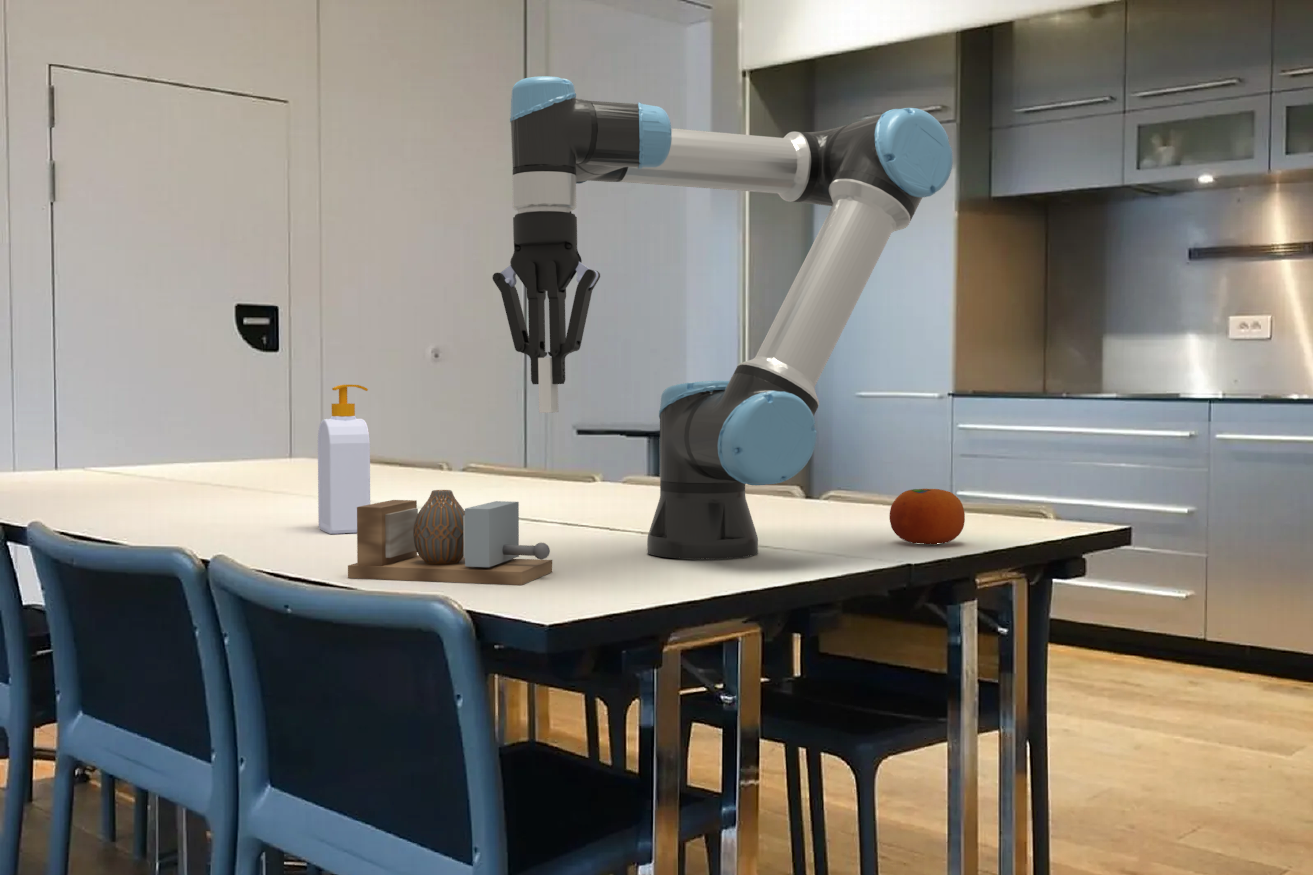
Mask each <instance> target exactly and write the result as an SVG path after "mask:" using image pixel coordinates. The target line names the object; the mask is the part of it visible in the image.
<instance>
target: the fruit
mask: <svg viewBox="0 0 1313 875" xmlns="http://www.w3.org/2000/svg"><path fill="white" fill-rule="evenodd" d="M965 514H966V513H965V509H964V505H963V503H962V501H961V500H960V499H959V497H957V496H956V495H955V493H953V492H951V491H949V490H948V491H947V490H944V489H938V488H913V489H908V490H905V491H904V492H902V493H900V494H899V495H898V496H897V497H896V498H895V499H894V501H893V502H892V504H891V506H890V509H889V523H890V526H891V529H892V531H893V532H894V534H895V535H896V536H897V537H898V538H900V539H902V540H904V541H905V542H908V543H911V542H912V543H911V544H914V543H924V544H923V545H934V544H937V543H943V544H946V543H945V542H947V543H950V542H952V541H954V540H955V539H956V538H957V537H959V536H960V534H961V532H962V531H963V530H964V527H965V521H966V519H965V518H966V517H965ZM937 545H938V544H937Z"/></svg>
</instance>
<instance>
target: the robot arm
mask: <svg viewBox="0 0 1313 875" xmlns="http://www.w3.org/2000/svg"><path fill="white" fill-rule="evenodd" d="M575 89H576V88H575V84H573V82H572V81H571V80H570V79H567V78H561V77H559V76H542V75H541V76H532V77H530V76H529V77H526V78H525V77H524V78H522V79H520V80H518V81H517V82H515V84H514V85H513V86H512V88H511V98H510V118H509V123H510V135H511V136H510V137H511V160H512V162H511V163H512V179H511V180H512V209H513V210H514V211H516V212H517V213H516V214H514V217H512V226H513V227H512V229H513V230H512V232H513V254H512V256H511V259H510V263H509V264H510V265H508V266H507V267H506V268H505V269H503V270H502V271H501V272H495V273H494V274H493V275H492V281H493V282H494V284H495V286H496V287H497V288H498V290H499V292H500V294H501V297H502V302H503V308H504V310H505V315H506V319H507V322H508V326H509V329H510V335H511V338H512V342H513V346H514V350H515V351H516V352H518V353H521V354H524V355H527V357H528V358H530V359H529V360H530V381H531V383H532V385H538V404H539V405H538V408H539V409H538V410H539V411H538V412H539V414H553V413H559V385H564V384H565V382H566V357H567V356H568V355H569V354H572V353H574V352H578V351H579V350H580V349H581V347H582V346H581V345H582V341H583V336H584V330H585V326H586V321H587V317H588V312H589V307H590V303H591V299H592V293H593V290H594V289H595V287H596V286H597V283H598V282H599V280H600V278H601V273H600V272H599V271H598V270H594V269H591V268H590V267H589V266H587V265H585V264H584V263H582V261H583V260H582V256H581V255H580V253H579V250H578V218H577V216H576V214H575V213H572V211H573V210H575V209H577V185H578V184H583V183H585V182H588V181H591V182H605V183H628V184H629V183H630V184H642V185H643V184H644V185H656V186H657V185H658V186H668V187H669V186H672V187H683V188H686V187H687V188H696V189H697V188H698V189H700V188H701V189H711V190H728V191H740V192H754V193H769V194H778V196H779V197H780V198H781V199H782V200H783V201H786V202H787V203H788V202H791V203H792V202H793V203H801V204H802V203H803V204H810V205H817V206H818V205H819V206H820V205H821V206H827V207H830V209H829V211H828V213H827V216H826V218H825V219H824V221H823V223H822V225H821V227H820V229H819V231H818V233H817V234H816V236H815V239H814V241H813V243H812V245H811V247H810V249H809V251H808V252H807V255H806V257H805V259H804V261H803V262H802V265H801V266H800V268H799V271H798V272H797V275H796V276H795V278H794V280H793V282H792V284H791V286H790V288H789V290H788V292H787V294H786V296H785V298H784V299H783V302H782V304H781V306H780V308H779V310H778V311H777V313H776V315H775V318H774V319H773V321H772V323H771V326H770V327H769V329H768V330H767V334H766V336H765V338H764V339H763V342H762V343H761V345H760V347H759V349H758V350H757V353H756V355H755V357H754V358H752V359H749V360H746V361H745V360H744V361H743V362H739V363H738V364H737V366H736V368H735V370H734V372H733V374H732V375H731V377H730V379H729V380H705V381H704V380H703V381H695V382H683V383H679V384H677V383H676V384H674V385H670V386H668V387H666V388H665V389H664V390H663V392H662V393H661V396H660V403H659V404H660V408H659V410H658V417H659V471H660V472H659V478H660V479H659V483H660V484H659V485H660V486H659V488H660V489H659V491H660V492H659V500H658V503H657V506H656V509H655V511H654V515H653V519H652V522H651V525H650V527H649V532H648V535H647V542H646V544H647V545H646V546H647V550H646V552H647V554H649V555H652V556H655V557H662V558H669V559H683V560H684V559H685V560H726V559H727V560H728V559H737V558H740V559H741V558H747V557H751V556H752V557H753V556H755V555H757V554H758V553H759V538H758V537H759V536H758V533H757V531H756V527H755V524H754V521H753V518H752V515H751V512H750V511H751V510H750V508H749V505H748V502H747V499H746V498H747V497H746V485H750V486H766V485H776V484H780V483H783V482H786V481H788V480H790V479H791V478H793V477H795V476H796V475H798V474H799V473H800V472H801V471H802V470H803V469H804V468H805V466H807V464H808V462H809V461H810V459H811V458H812V456H813V453H814V451H815V447H816V444H817V434H818V433H817V432H818V431H817V430H816V427H815V424H816V420H815V417H814V416H815V414H816V413H817V410H818V408H819V406H820V401H819V398H818V396H817V393H816V389H815V388H816V385H817V383H818V381H819V379H820V377H821V376H822V373H823V371H824V370H825V367H826V365H827V363H828V361H829V359H830V357H831V356H832V354H833V351H834V349H835V348H836V345H837V343H838V341H839V340H840V337H841V335H842V333H843V331H844V329H845V327H846V325H847V323H848V321H849V319H850V317H851V315H852V313H853V311H854V309H855V308H856V305H857V304H858V301H859V299H860V297H861V295H862V293H863V291H864V289H865V287H866V285H867V282H868V281H869V279H870V277H871V275H872V273H873V272H874V269H875V267H876V265H877V263H878V261H879V259H880V257H881V254H882V253H883V251H884V249H885V247H886V245H887V243H888V240H889V239H890V237H891V235H892V233H893V232H897V231H901V230H904V229H906V228H908V226H909V225H910V223H911V221H912V219H913V216H914V215H915V213H916V211H917V209H918V207H919V205H920V203H921V201H922V199H923V198H927V197H931V196H933V195H935V194H936V193H937V192H939V191H940V190H941V189H942V188H943V187H944V186H945V185H947V182H948V180H949V178H950V176H951V173H952V170H953V162H954V161H953V160H954V159H953V158H954V156H953V148H952V146H951V145H950V141H949V139H950V138H949V136H948V134H947V132H946V129H945V128H944V127H943V125H942V124H941V123H940V121H939V120H938V119H937V118H935V117H934V116H933V115H932V114H930V113H929V112H927V111H926V110H923V109H920V108H916V107H904V108H893V109H890V110H887V111H885V112H883V113H882V114H879V115H875V116H872V117H869V118H865V119H861V120H859V121H855V122H852V123H849V124H845V125H842V126H838V127H834V128H830V129H826V130H821V131H820V130H819V131H810V132H807V131H805V132H803V131H790V132H788V133H787V134H786V135H784V137H777V136H776V137H775V136H764V135H753V134H752V135H751V134H742V133H741V134H739V133H729V132H719V131H705V130H695V129H684V128H683V129H682V128H672V124H671V119H670V117H669V115H668V113H667V111H666V110H665V109H664V108H662V107H661V106H657V105H651V104H644V103H641V102H637V103H633V102H632V103H631V102H616V101H612V102H611V101H601V100H599V101H595V100H586V99H582V98H577V94H576V91H575ZM575 275H577V276H576V281H577V283H578V284H577V286H576V290H575V293H574V298H573V303H572V308H571V313H570V317H569V322H568V326H567V328H566V298H567V288H568V286H569V284H570V283H571V281H572V280H573V278H574V277H575ZM516 276H517V277H518V278H519V280H520V281H521V283H522V284H523V286H524V287H525V288H526V299H527V301H528V302H527V306H528V307H527V308H528V309H527V310H528V312H527V313H528V315H527V316H528V329H527V324H526V321H525V317H524V313H523V310H522V304H521V301H520V296H519V294H518V290H517V287H516V284H517V278H516ZM546 296H547V297H546ZM546 298H547V299H548V317H549V318H548V319H549V351H547V352H546V316H545V314H546V311H545V309H546V308H545V302H546V301H545V300H546ZM566 329H567V330H566ZM566 332H567V333H566ZM547 355H549V357H547Z"/></svg>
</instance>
